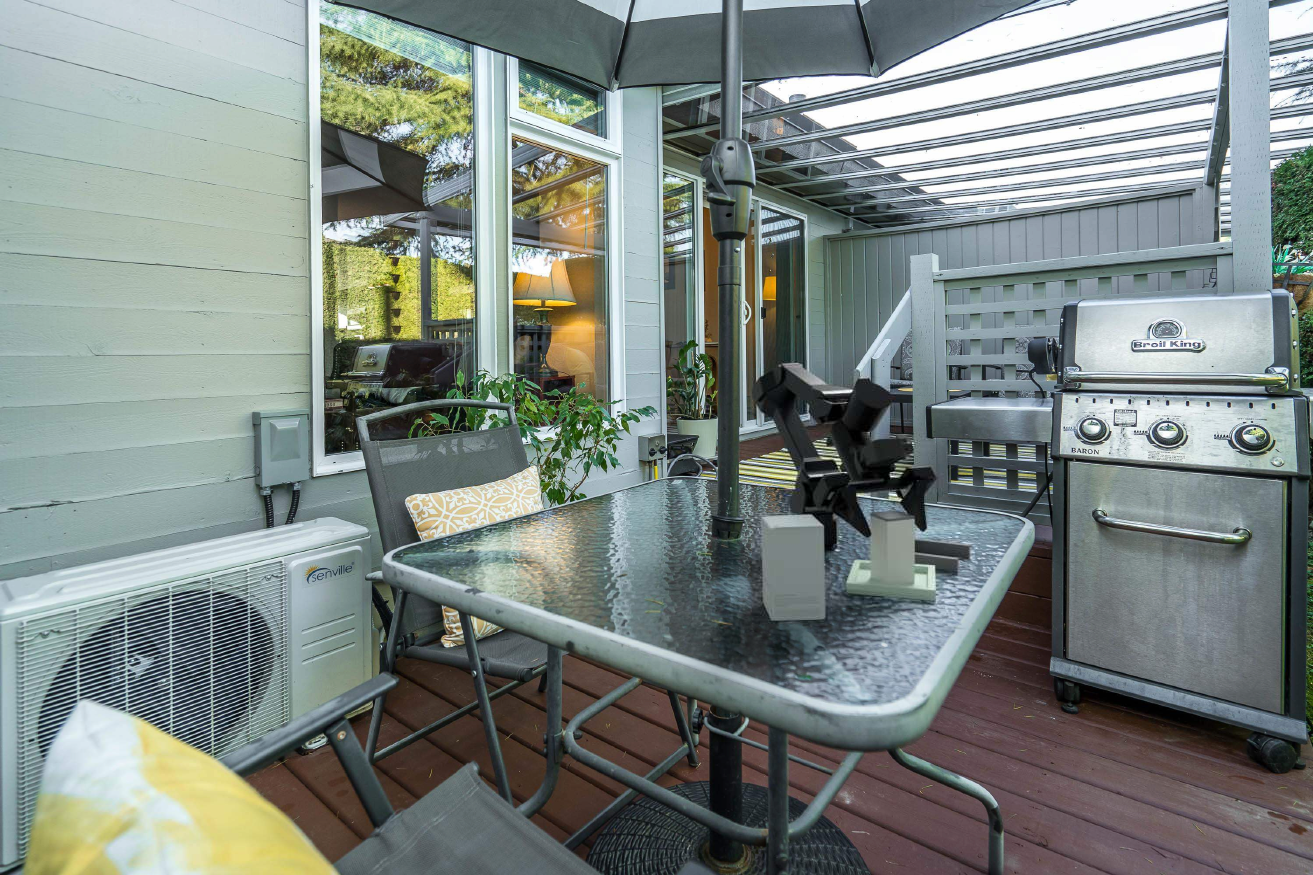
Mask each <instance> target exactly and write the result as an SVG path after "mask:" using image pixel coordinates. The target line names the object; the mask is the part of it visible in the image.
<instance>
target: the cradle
mask: <svg viewBox="0 0 1313 875" xmlns="http://www.w3.org/2000/svg"><path fill="white" fill-rule="evenodd" d="M921 552H922V553H921ZM930 553H931V554H930ZM952 556H955V557H952ZM959 557H964V558H970V557H971V543H970V544H969V543H962V542H961V543H960V542H953V541H945V540H944V541H943V540H942V541H941V540H934V539H925V538H917V537H916V538H915V564H922V565H935V570H941V571H947V572H955V573H958V572H959V571H958V570H959V568H960V566H959V564H960V563H959V562H960V558H959Z"/></svg>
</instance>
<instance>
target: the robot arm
mask: <svg viewBox="0 0 1313 875" xmlns="http://www.w3.org/2000/svg"><path fill="white" fill-rule="evenodd" d="M854 383H855V384H854V386H853V389H851V388H848V387H844V386H840V385H839V386H838V385H831V384H827V382H825V381H824V380H822V379H820V378H819V377H818V376H816V375H815V374H813V373H812V372H810V371H809V370H807V369H805V367H804V365H803V364H802V363H799V362H789V363H788V362H786V363H779V364H777V365H775V366H774V368H772V369H771V371H769V372H767V373H765V374H763V375H761V376H759V377H758V379H757V380H756V382H755V383H754V384H753V386H752V389H751V397H752V400H753V401H754V403H755V405H756V407H757V408H758V409H759V411H760V413H762V414H763V415H765V416H767V417H769V418H770V419H772V420H773V422H774V425H775V427H776V428H777V430H778V433H779V435H780V438H781V439H782V441H783V442H782V443H783V444H784V446H785V448H786V450H787V452H788V455H789V457H790V459H791V460H792V464H794V467H795V470H796V472H797V474H796V477H795V483H794V490H793V492H792V494H791V496H790V497H789V499H788V503H789V509H790V512H791V513H793V514H794V515H813V516H814V517H815V518H816V519H817V520H818V521H819V522H820V523H821V524H822V525H823V526H824V550H834V548H835V547H836V545H837V544H838V542H839V537H840V536H839V535H840V532H839V526H840V524H839V519H838V518H836V516H837V517H839V518H840V519H842V520H843V521H845V522H846V523H847V524H849V525H850V526H851V527H852V528H853V529H855V530H856V531H857V532H859V533H860V534H861V535H862V536H863V537H865V538H866V539H870V536H871V535H872V534H871V530H870V525H869V523H868V521H867V519H866V516H865V514H864V512H863V510H862V508H861V506H860V503H859V502H858V496H857V494H873V493H883V492H892V491H893V492H895V494H896V496H897V497H898V498H899V499H901V500H900V502H899V504H900V505H901V507H902V508H903V510H904V511H905V513H906V514H909V515H912V516H915V527H917V528H918V530H920V531H921V532H925V531H926V530H927V529H928V525H927V518H926V517H927V516H926V505H925V494H926V493H927V492H928V491H929V489H930V488H931V487H932V486H933V484H934V483H935V482H936V481H937V480H938V477H937V475H936V473H935V471H934V469H933V468H932V467H931V466H930V465H929V466H928V465H919V466H917V465H916V466H907V467H906V468H904V470H903V472H902V474H901V475H900V476H897V477H896V476H895V477H891V475H890V474H891V473H894V472H895V471H896V469H897V466H896V465H895V464H896V463H899V462H900V461H903V460H906V459H907V457H909V456H910V455H912V454H913V453H914V450H915V449H914V445H913V442H912V440H911V439H910V438H909V436H908V435H907V434H897V435H896V436H895V437H890V438H878V439H875V440H872V437H871V436H870V434H869V433H870V432H874V431H875V430H876V429H877V428H878V426H879V424H880V423H881V422H882V420H883V418H884V416H885V414H886V413H887V412H888V410H889V408H890V407H891V405H892V403H893V396H892V394H891V392H890V390H887V389H886V388H884V387H883V386H882V385H879V384H877V383H874V382H872V381H871V379H870V377H864V378H857V379H856V382H854ZM797 398H799V399H801V401H803V402H804V403H806V404H807V405H808V410H807V412H808V414H809V416H810V417H812V419H813V420H814V421H815V422H816V424H818V425H828V424H829V425H831V424H833V425H832V426H831V427H830V430H829V431H828V435H827V438H826V442H825V446H826V447H834V449H835V451H836V452H837V454H838V457H839V459H840V461H841V463H840V466H838V464H837V462H836V461H835V459H833V458H832V459H831V458H830V459H822V458H821V456H820V453H819V452H818V450H817V448H816V446H815V444H814V442H813V440H812V438H811V436H810V434H809V432H808V430H807V429H806V426H805V424H804V423H803V420H802V418H801V416H800V415H799V413H798V411H797V409H796V407H795V403H796V401H797Z"/></svg>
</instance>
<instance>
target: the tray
mask: <svg viewBox="0 0 1313 875" xmlns="http://www.w3.org/2000/svg"><path fill="white" fill-rule="evenodd" d="M936 587H937V586H936V569H935V565H922V564H915V583H907V584H900V585H891V584H883V583H881V582H879V581H877V580H875V579H873V578H871V562H870V560H863V559H862V560H861V559H854V561H853V563H852V566H851V569H850V571H849V573H848V577H847V580H846V583H845V590H846V591H845V593H846V594H853V595H863V596H864V595H866V596H867V595H868V596H878V597H887V598H898V599H910V600H919V601H920V600H921V601H933V602H936V601H937V599H936V598H937V596H936V595H937V593H936V592H937V590H936Z"/></svg>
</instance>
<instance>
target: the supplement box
mask: <svg viewBox="0 0 1313 875" xmlns="http://www.w3.org/2000/svg"><path fill="white" fill-rule="evenodd" d="M760 523H761V526H760V528H761V533H760V534H761V561H762V562H761V563H762V564H761V565H762V566H761V567H762V568H761V569H762V602H763V606H764V607H765V610H766V611H767V614H768V615H769V616H768V617H769V619H770V620H771V622H772V621H776V622H777V621H780V622H781V621H784V622H785V621H811V620H814V621H816V620H817V621H818V620H825V618H826V579H825V578H826V575H825V574H826V572H825V569H826V567H825V549H824V526H823V525H822V524H821V523H820V522H819V521H818V520H817V519H816V518H815V517H814V516H813V515H798V514H794V515H793V514H789V515H787V514H786V515H769V516H768V515H767V516H761V520H760Z"/></svg>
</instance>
